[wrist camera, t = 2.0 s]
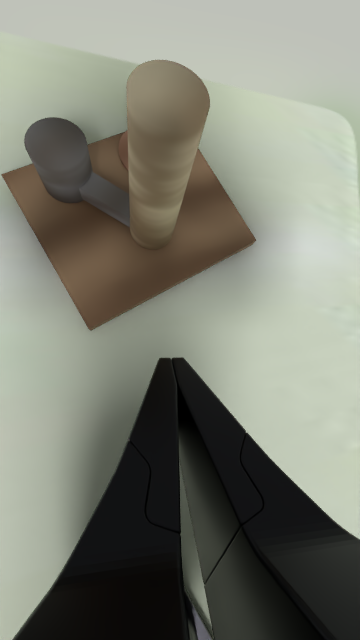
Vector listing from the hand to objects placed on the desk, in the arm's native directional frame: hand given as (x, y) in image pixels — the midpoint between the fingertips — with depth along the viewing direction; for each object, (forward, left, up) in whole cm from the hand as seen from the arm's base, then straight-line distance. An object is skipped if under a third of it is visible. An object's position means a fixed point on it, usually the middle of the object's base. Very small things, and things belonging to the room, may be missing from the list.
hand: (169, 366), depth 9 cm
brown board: (+11, -5, -10) cm, 16 cm away
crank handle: (+12, -3, -9) cm, 15 cm away
